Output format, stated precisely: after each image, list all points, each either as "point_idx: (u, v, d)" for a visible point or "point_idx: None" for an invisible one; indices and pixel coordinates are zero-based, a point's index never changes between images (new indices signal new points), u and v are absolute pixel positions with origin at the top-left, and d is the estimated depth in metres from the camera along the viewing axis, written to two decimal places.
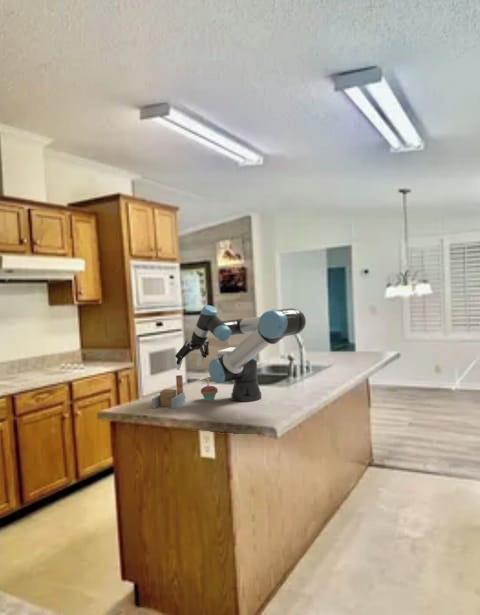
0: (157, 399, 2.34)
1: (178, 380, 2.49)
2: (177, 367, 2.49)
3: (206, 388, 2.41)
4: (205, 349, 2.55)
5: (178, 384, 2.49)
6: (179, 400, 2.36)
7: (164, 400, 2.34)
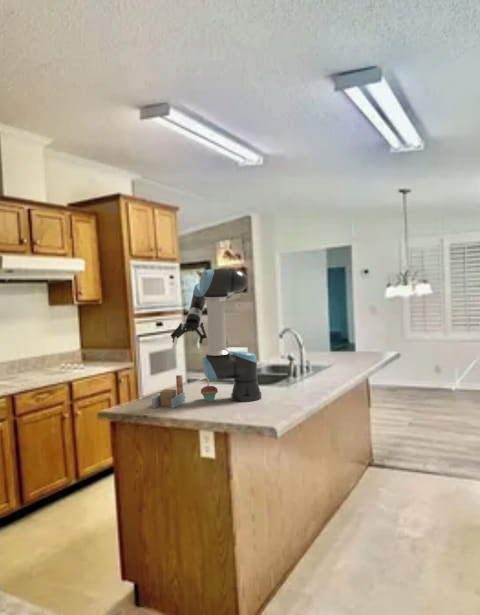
0: (157, 399, 2.34)
1: (178, 380, 2.49)
2: None
3: (206, 388, 2.41)
4: (202, 331, 2.66)
5: (178, 384, 2.49)
6: (179, 400, 2.36)
7: (164, 400, 2.34)
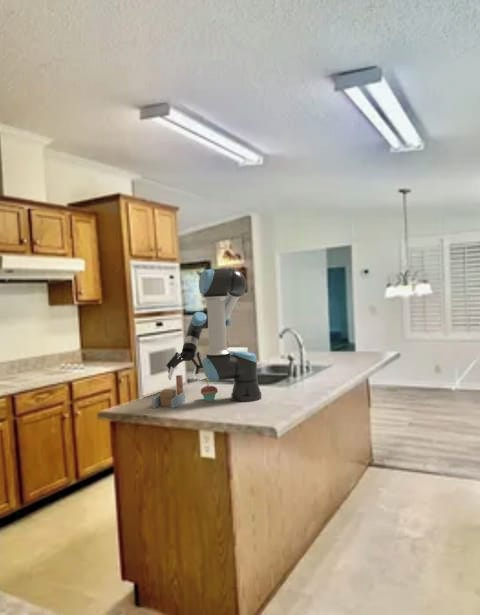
0: (157, 399, 2.34)
1: (178, 380, 2.49)
2: None
3: (206, 388, 2.41)
4: None
5: (178, 384, 2.49)
6: (179, 400, 2.36)
7: (164, 400, 2.34)
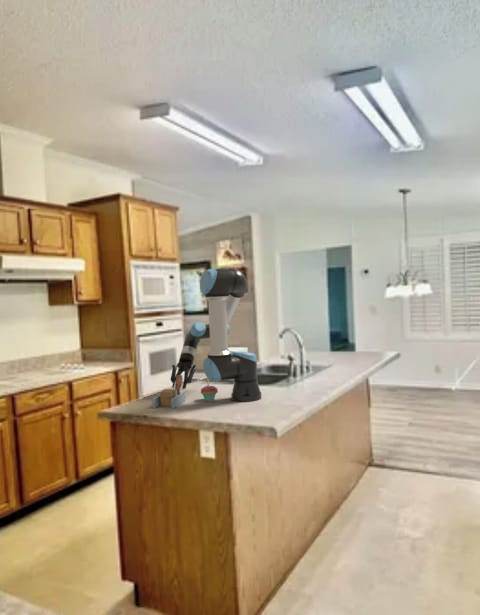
0: (157, 399, 2.34)
1: (178, 380, 2.49)
2: None
3: (206, 388, 2.41)
4: None
5: (178, 384, 2.49)
6: (179, 400, 2.36)
7: (164, 400, 2.34)
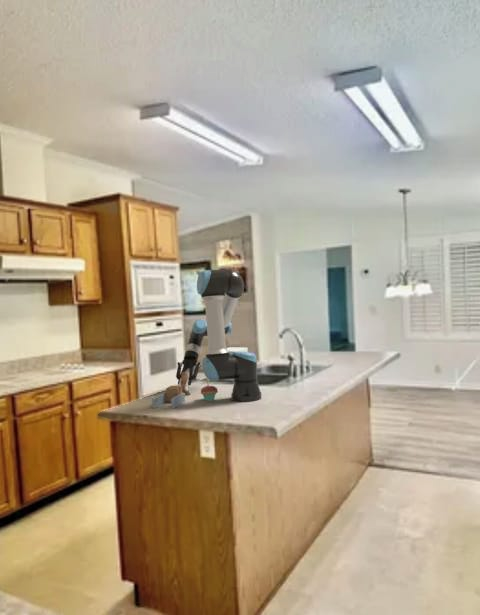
0: (157, 399, 2.34)
1: (183, 377, 2.57)
2: None
3: (206, 388, 2.41)
4: None
5: (183, 381, 2.58)
6: (179, 400, 2.36)
7: (170, 396, 2.42)
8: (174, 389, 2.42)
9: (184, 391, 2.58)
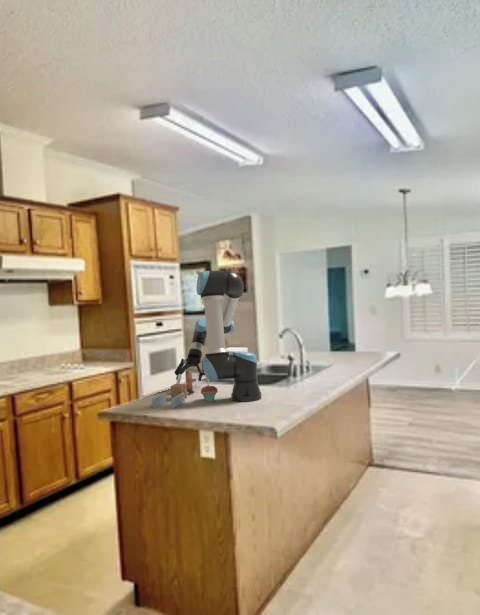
0: (157, 399, 2.34)
1: (187, 375, 2.62)
2: None
3: (206, 388, 2.41)
4: (202, 368, 2.66)
5: (187, 379, 2.62)
6: (179, 400, 2.36)
7: (174, 393, 2.47)
8: (178, 387, 2.46)
9: (188, 389, 2.62)
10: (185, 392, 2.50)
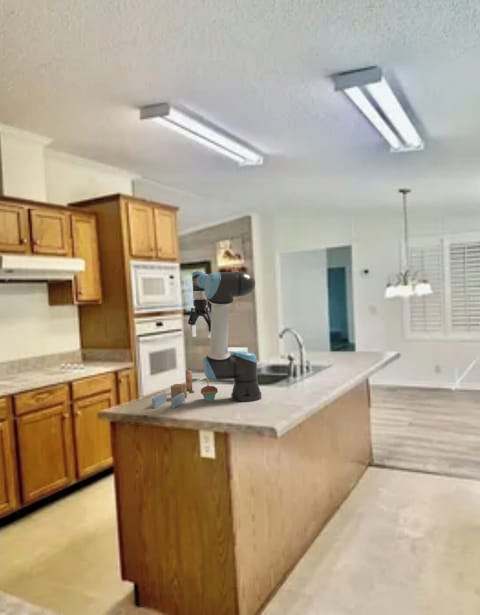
0: (157, 399, 2.34)
1: (187, 375, 2.62)
2: None
3: (206, 388, 2.41)
4: None
5: (187, 379, 2.62)
6: (179, 400, 2.36)
7: (174, 393, 2.47)
8: (178, 387, 2.46)
9: (188, 389, 2.62)
10: (185, 392, 2.50)
